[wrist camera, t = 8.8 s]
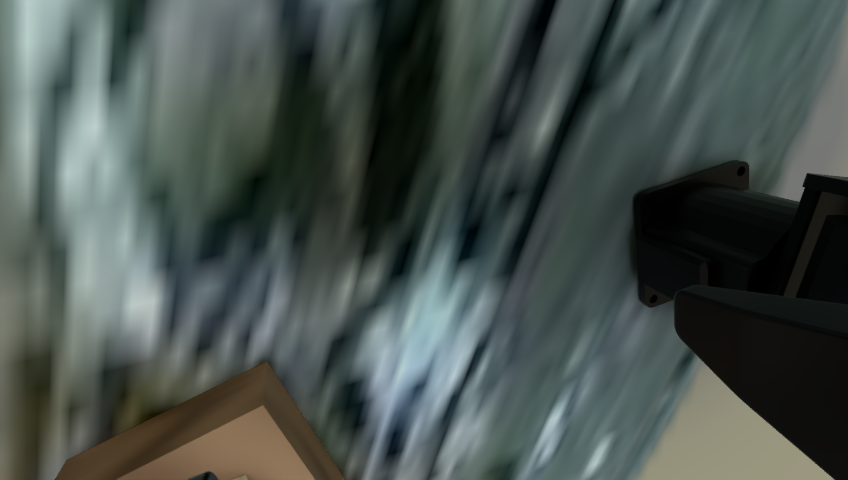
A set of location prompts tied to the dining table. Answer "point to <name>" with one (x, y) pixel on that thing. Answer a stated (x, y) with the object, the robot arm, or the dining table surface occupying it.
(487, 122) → the dining table surface
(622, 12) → the dining table surface
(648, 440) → the dining table surface
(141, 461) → the walnut block
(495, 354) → the dining table surface
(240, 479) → the cube
